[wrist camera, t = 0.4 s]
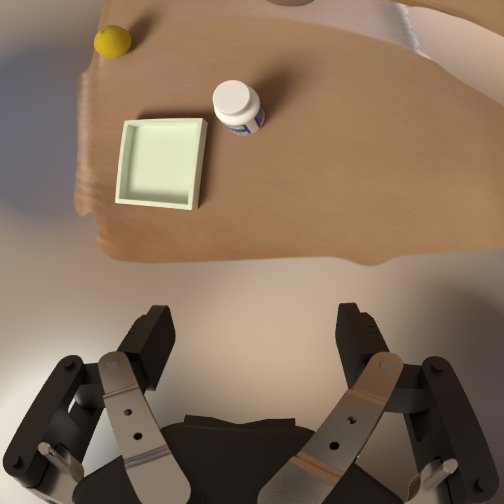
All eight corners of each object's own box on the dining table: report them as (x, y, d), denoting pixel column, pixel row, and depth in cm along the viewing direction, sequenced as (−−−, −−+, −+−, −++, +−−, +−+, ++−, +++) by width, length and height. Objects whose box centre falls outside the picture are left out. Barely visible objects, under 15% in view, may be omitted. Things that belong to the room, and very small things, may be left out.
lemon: (106, 58, 35) (80, 42, 27) (127, 34, 34) (103, 14, 26) (123, 69, 35) (95, 52, 27) (145, 44, 34) (121, 23, 26)
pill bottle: (248, 92, 34) (236, 65, 25) (273, 120, 34) (267, 98, 26) (218, 116, 35) (197, 95, 26) (241, 143, 35) (226, 128, 27)
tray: (133, 124, 37) (124, 120, 34) (208, 122, 35) (202, 118, 33) (124, 202, 39) (115, 202, 37) (197, 208, 38) (191, 209, 35)
